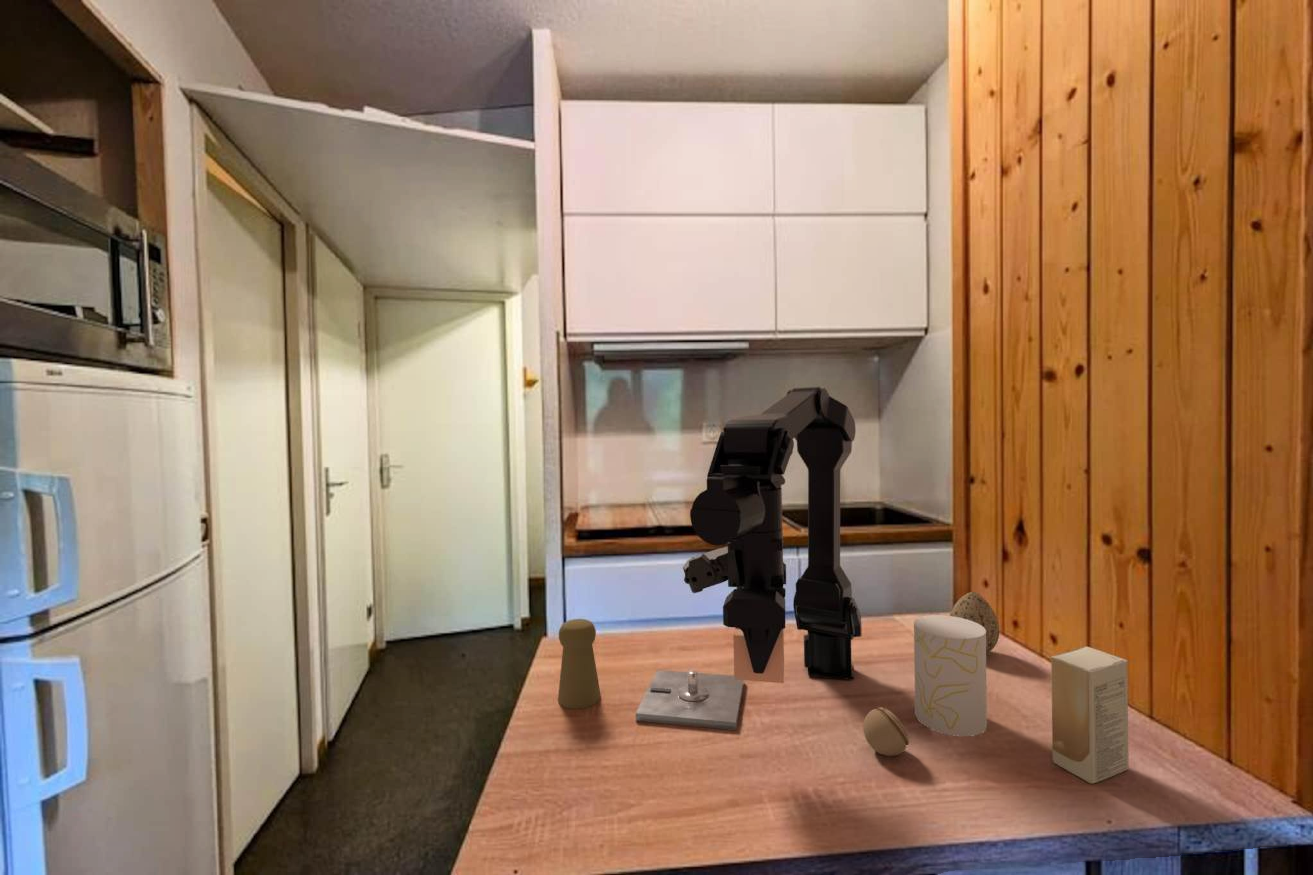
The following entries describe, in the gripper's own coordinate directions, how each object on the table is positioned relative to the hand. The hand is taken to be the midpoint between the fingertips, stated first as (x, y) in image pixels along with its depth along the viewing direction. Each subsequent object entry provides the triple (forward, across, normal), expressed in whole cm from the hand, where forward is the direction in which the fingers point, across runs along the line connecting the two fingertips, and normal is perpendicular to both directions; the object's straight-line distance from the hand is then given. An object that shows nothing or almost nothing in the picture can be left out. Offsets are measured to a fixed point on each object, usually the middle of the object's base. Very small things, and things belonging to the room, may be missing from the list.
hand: (759, 661), depth 67 cm
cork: (+11, -9, -26) cm, 30 cm away
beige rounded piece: (+11, -3, +14) cm, 18 cm away
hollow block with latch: (+1, 0, 0) cm, 1 cm away
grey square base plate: (+11, -11, -10) cm, 18 cm away
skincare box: (+11, -4, +35) cm, 37 cm away
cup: (+11, -12, +23) cm, 28 cm away
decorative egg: (+11, -34, +32) cm, 48 cm away
